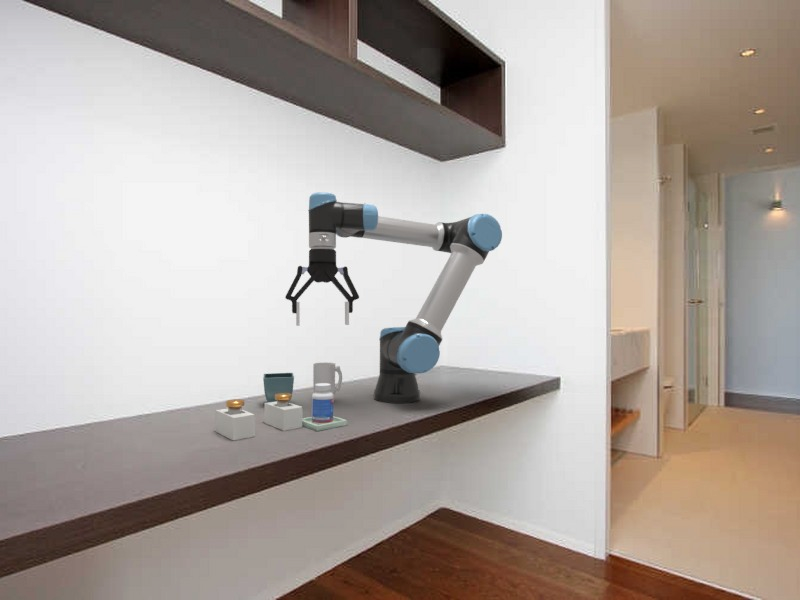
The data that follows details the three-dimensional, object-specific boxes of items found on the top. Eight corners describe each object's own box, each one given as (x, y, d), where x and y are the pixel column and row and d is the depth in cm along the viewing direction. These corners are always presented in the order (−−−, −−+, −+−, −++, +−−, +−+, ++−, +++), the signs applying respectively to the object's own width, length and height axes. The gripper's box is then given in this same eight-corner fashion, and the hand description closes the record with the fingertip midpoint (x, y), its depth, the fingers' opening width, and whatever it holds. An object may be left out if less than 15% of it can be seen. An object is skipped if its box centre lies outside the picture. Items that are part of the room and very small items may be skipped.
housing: (281, 419, 123) (282, 400, 123) (302, 427, 116) (302, 407, 116) (215, 431, 111) (215, 410, 111) (233, 440, 103) (233, 417, 104)
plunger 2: (286, 419, 120) (286, 392, 120) (294, 422, 117) (294, 394, 117) (271, 422, 118) (272, 394, 118) (279, 425, 115) (280, 396, 115)
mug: (320, 405, 140) (320, 365, 140) (308, 402, 145) (309, 363, 145) (347, 401, 147) (348, 363, 147) (335, 398, 152) (336, 361, 152)
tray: (327, 418, 125) (327, 413, 125) (347, 425, 118) (347, 420, 118) (297, 424, 119) (297, 419, 119) (317, 431, 112) (317, 426, 112)
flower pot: (262, 408, 135) (263, 377, 135) (263, 402, 144) (263, 373, 144) (293, 407, 138) (294, 376, 138) (292, 401, 146) (292, 372, 146)
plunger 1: (239, 428, 112) (239, 398, 112) (246, 431, 109) (247, 401, 109) (222, 430, 109) (223, 400, 109) (229, 434, 106) (230, 403, 106)
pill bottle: (335, 424, 117) (336, 385, 117) (314, 426, 115) (314, 386, 115) (330, 419, 122) (330, 381, 122) (309, 421, 120) (310, 383, 120)
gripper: (276, 246, 124) (276, 326, 124) (368, 248, 130) (369, 325, 130) (276, 249, 131) (276, 325, 131) (364, 251, 138) (364, 323, 138)
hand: (322, 325), depth 131 cm, fingers open, 13 cm apart
